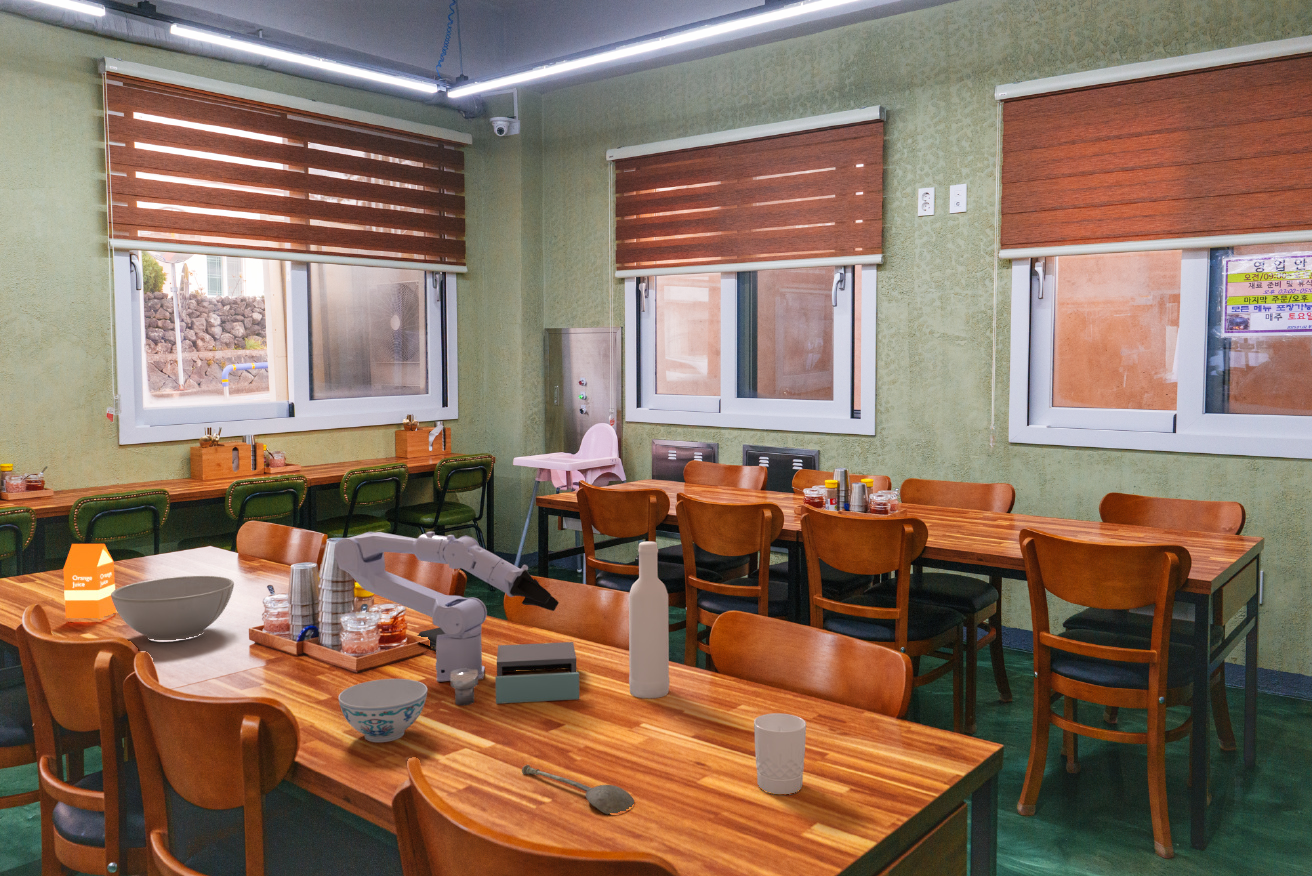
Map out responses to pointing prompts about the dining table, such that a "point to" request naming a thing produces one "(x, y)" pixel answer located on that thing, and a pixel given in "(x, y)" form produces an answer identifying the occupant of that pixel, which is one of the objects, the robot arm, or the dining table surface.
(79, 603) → the orange juice
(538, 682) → the teal drawer
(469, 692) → the grey metallic cube
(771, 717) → the white cup
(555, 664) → the grey drawer housing
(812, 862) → the dining table surface
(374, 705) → the chinaware
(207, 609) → the decorative bowl
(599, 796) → the soupspoon
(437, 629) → the carrying case or bag
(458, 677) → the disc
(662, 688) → the bottle
